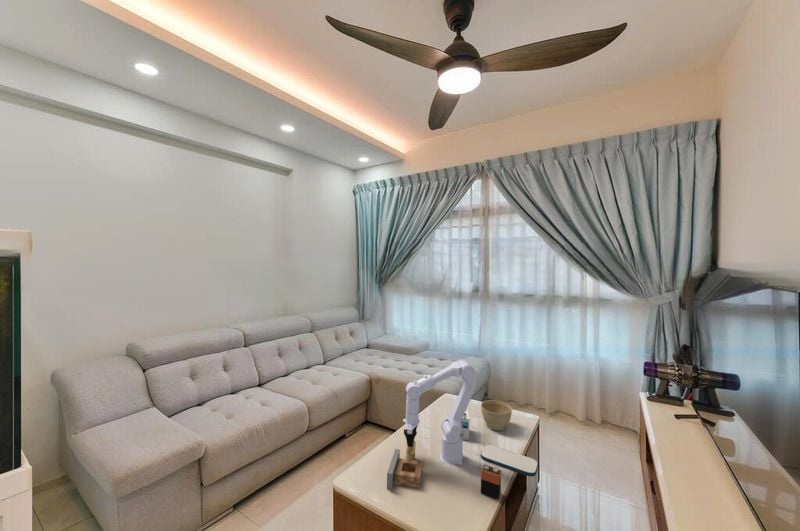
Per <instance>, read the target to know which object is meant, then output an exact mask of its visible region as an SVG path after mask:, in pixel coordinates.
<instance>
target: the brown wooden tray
mask: <svg viewBox="0 0 800 531" xmlns="http://www.w3.org/2000/svg"><path fill="white" fill-rule="evenodd" d="M423 464H424V463H423V461H421V460H416V459H415V460H408V459H406V458H401V457H400V458H399V460H398V464H397V467H396V470H395V474H394V484H393V485H397V486H404V487H409V488H417V489H420V486H421V482H422V481H421V480H422V474H423Z"/></svg>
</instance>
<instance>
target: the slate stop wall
mask: <svg viewBox="0 0 800 531" xmlns="http://www.w3.org/2000/svg"><path fill="white" fill-rule="evenodd" d="M400 453H401V449H399V448H398V449H397V448H395V449H394V451H393V454H392V457H391V461H390V464H389V466H388V470H387V472H386V490H387V489H388V490H393V486H394V485H395V484H394V474H395V470H396V467H397V464H398V460H399V458H401V456H400V455H401V454H400Z"/></svg>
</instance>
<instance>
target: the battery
mask: <svg viewBox="0 0 800 531" xmlns="http://www.w3.org/2000/svg"><path fill="white" fill-rule="evenodd" d="M501 489H502V470H501V469H499V468H498V467H496V466H495V467H493V466H490V465H488V464H483V466H482V468H481V473H480V493H481V494H482V495H485V496H487V497H490V498H492V499H495V500H499V499H500V496H501V493H502V492H501V491H502V490H501Z"/></svg>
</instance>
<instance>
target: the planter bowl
mask: <svg viewBox="0 0 800 531" xmlns="http://www.w3.org/2000/svg"><path fill="white" fill-rule="evenodd" d="M480 407H481V415H482V418H483V420H484V421H485V423H486V426H487V428H489V429H490V430H491V431H492V430H493V431H497V432H499V431H500V432H502V431H504V430H505V429H506V427H507V426H508V425H509V423H510V421H511V418H512V412H513V408H512V406H510V405H509V404H508V403H506V402H504V401H500V400H499V401H498V400H485V401H482V402H481V404H480Z"/></svg>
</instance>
